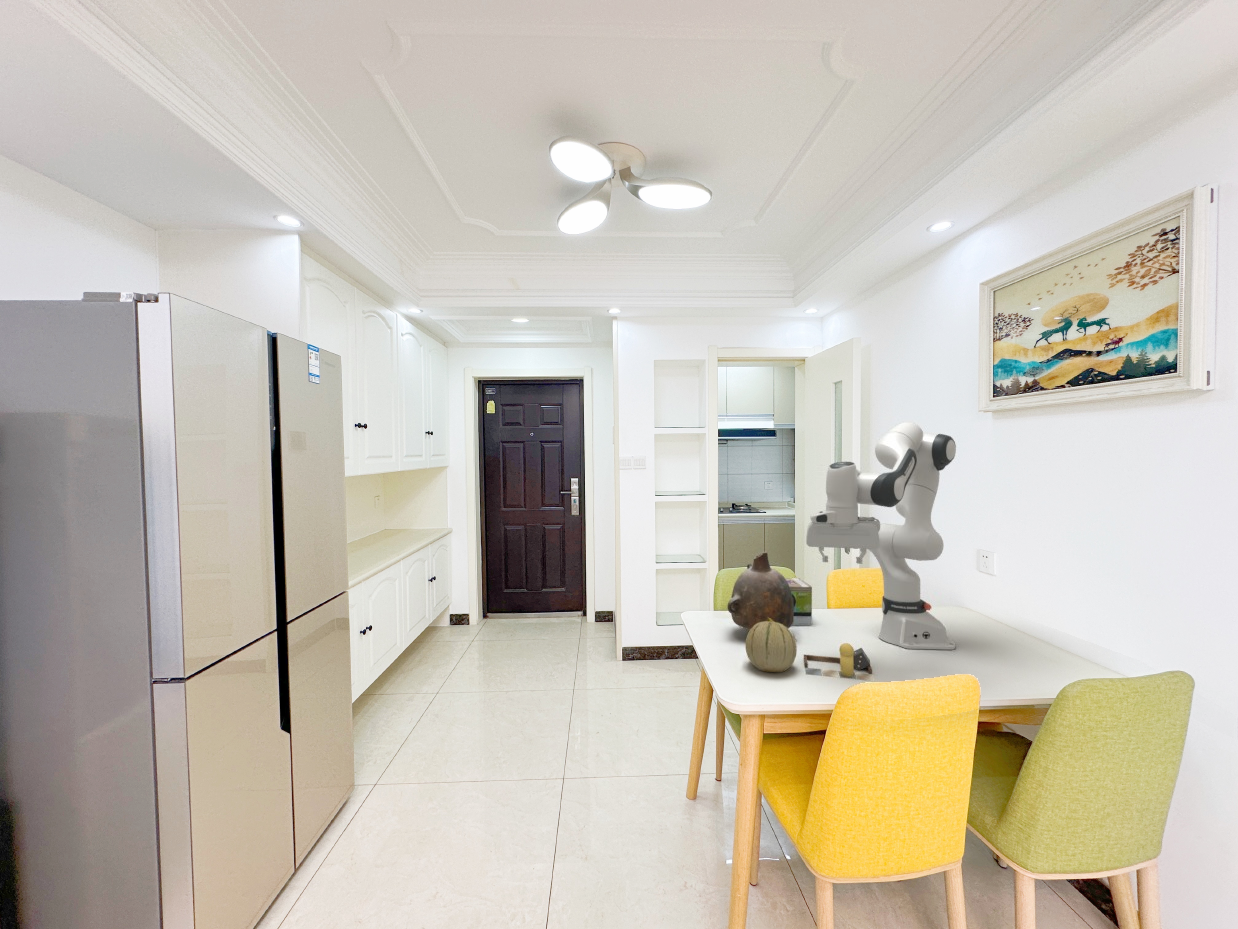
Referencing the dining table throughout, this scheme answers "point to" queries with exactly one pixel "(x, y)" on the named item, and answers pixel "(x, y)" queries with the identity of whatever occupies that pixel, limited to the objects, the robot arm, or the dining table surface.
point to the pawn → (846, 660)
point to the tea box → (801, 601)
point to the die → (860, 659)
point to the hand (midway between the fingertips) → (842, 562)
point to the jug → (761, 596)
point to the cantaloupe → (771, 646)
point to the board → (832, 672)
